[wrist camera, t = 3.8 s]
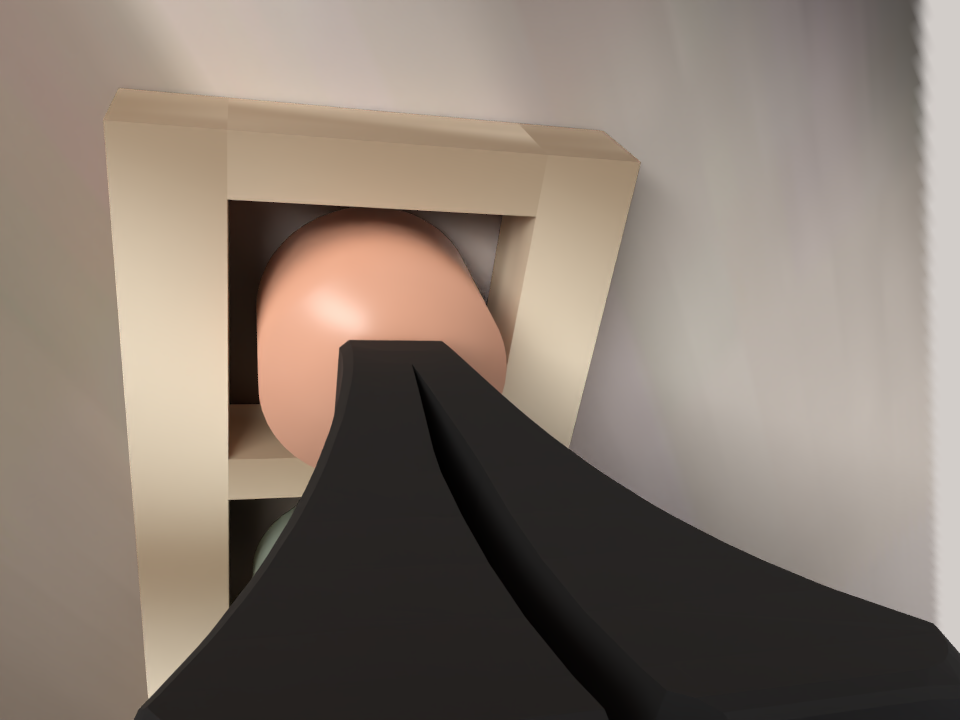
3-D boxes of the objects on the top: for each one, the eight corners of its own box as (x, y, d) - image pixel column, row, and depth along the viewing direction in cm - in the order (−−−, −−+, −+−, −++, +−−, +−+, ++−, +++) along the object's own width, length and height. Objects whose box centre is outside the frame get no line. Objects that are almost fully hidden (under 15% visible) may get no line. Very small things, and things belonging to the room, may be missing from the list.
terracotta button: (456, 396, 15) (486, 476, 13) (255, 397, 14) (256, 484, 12) (486, 212, 13) (526, 275, 11) (257, 199, 12) (260, 265, 10)
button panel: (462, 759, 21) (475, 817, 20) (166, 799, 19) (161, 866, 18) (602, 130, 13) (640, 162, 12) (118, 88, 11) (102, 119, 10)
